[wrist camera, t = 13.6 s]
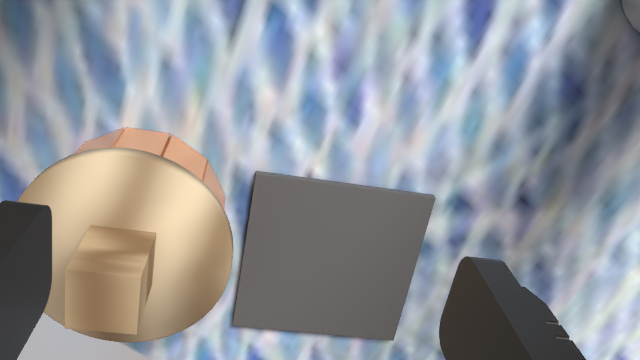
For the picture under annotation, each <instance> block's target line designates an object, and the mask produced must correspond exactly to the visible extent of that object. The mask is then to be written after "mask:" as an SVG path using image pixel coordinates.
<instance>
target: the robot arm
mask: <svg viewBox="0 0 640 360" xmlns="http://www.w3.org/2000/svg"><path fill="white" fill-rule="evenodd" d="M621 2H622V7H623V10H624V12H625V15H626V18H627V19H628V21H629V22H630V24H631V25H632V27H633V28H634V29H636V30H637V31H638V32H639V33H640V0H621ZM51 284H52V212H51V209H50V207H49V206H48V205H41V204H32V203H24V202H16V201H7V200H5V201H2V202H1V203H0V360H17V358H18V356H19V354H20V353H21V351H22V349H23V347H24V345H25V344H26V342H27V340H28V338H29V336H30V335H31V333H32V331H33V329H34V328H35V326H36V324H37V322H38V321H39V319H40V317H41V315H42V313H43V312H44V310H45V307H46V305H47V302H48V299H49V295H50V290H51ZM439 338H440V345H441V349H442V351H443V354H444V356H445V359H446V360H586V359H585V358H584V356H583V355H582V353H581V352H580V351H579V349H578V348H577V347H576V345H575V344H574V342H573V341H572V340H569V335H568V334H567V333H566V331H565V330H564V329H563V327H562V326H561V325H558V320H557V319H556V317H555V316H554V315H553V313H552V312H551V310H550V309H549V308H548V306H547V305H546V304H545V303H544V302H543V301H542V300H540V299H539V298H538V297H537V296H535V295H534V294H533V293H532V292H530V291H529V290H528V289H527V288H525V287H521V286H520V284H519V283H518V281H517V280H516V279H515V277H514V276H513V274H512V273H511V271H510V270H509V268H508V267H507V266H506V264H505V263H504V262H503V261H500V260H493V259H485V258H476V257H468V256H467V257H464V258H463V259H462V260H461V262H460V263H459V266H458V268H457V271H456V274H455V277H454V280H453V283H452V286H451V289H450V292H449V295H448V299H447V302H446V305H445V308H444V311H443V314H442V317H441V321H440V328H439Z"/></svg>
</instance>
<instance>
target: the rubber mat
mask: <svg viewBox="0 0 640 360" xmlns="http://www.w3.org/2000/svg"><path fill="white" fill-rule="evenodd" d="M434 202H435V197H434V195H430V194H422V193H415V192H408V191H400V190H393V189H386V188H378V187H371V186H363V185H356V184H349V183H341V182H334V181H326V180H319V179H312V178H304V177H297V176H290V175H282V174H275V173H267V172H260V171H256V175H255V182H254V188H253V194H252V201H251V207H250V214H249V220H248V227H247V233H246V240H245V246H244V253H243V259H242V266H241V272H240V279H239V285H238V292H237V298H236V305H235V311H234V318H233V326H243V327H254V328H265V329H275V330H286V331H297V332H307V333H318V334H329V335H339V336H350V337H361V338H371V339H382V340H394V336H395V333H396V330H397V326H398V323H399V320H400V316H401V313H402V310H403V306H404V303H405V299H406V296H407V293H408V289H409V286H410V283H411V279H412V276H413V272H414V269H415V266H416V262H417V259H418V256H419V252H420V249H421V245H422V242H423V239H424V235H425V232H426V229H427V225H428V222H429V218H430V215H431V212H432V208H433V205H434Z"/></svg>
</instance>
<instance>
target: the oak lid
mask: <svg viewBox="0 0 640 360" xmlns="http://www.w3.org/2000/svg"><path fill="white" fill-rule="evenodd" d="M17 202H24V203H32V204H41V205H48V206H49V207H50V209H51V212H52V284H51V290H50V295H49V299H48V302H47V305H46V307H45V310H44V313H45V314H47V315H48V316H49V317H51V318H52V319H54V320H55V321H57V322H59V323H60V324H62V325H63V326H65V328H68V329H72V330H74V331H76V332H79V333H81V334H84V335H88V336H90V337H94V338H98V339H102V340H109V341H116V342H142V341H150V340H156V339H160V338H163V337H167V336H170V335H173V334H175V333H178V332H180V331H182V330H184V329H186V328H188V327H190V326H192V325H193V324H195V323H196V322H197V321H199V320H200V319H201V318H203V317H204V316H205V315H206V314H207V313H208V312H209V311H210V310H211V309H212V308H213V307H214V305H215V304H216V303H217V302H218V300H219V299H220V297H221V295H222V294H223V292H224V290H225V288H226V285H227V283H228V280H229V277H230V272H231V268H232V258H233V237H232V231H231V227H230V223H229V220H228V218H227V215H226V213H225V211H224V209H223V207H222V205H221V204H220V202H219V200H218V199H217V197H216V196H215V195H214V194H213V192H212V191H211V190H210V189H209V188H208V187H207V186H206V185H205V184H204V183H203V182H202V181H201V180H200V179H199V178H198V177H197V176H195V175H194V174H193V173H192V172H190V171H189V170H188V169H186V168H184V167H183V166H181V165H179V164H178V163H176V162H174V161H171V160H169V159H167V158H165V157H163V156H160V155H157V154H153V153H150V152H147V151H142V150H137V149H131V148H118V147H114V148H98V149H92V150H86V151H83V152H80V153H76V154H73V155H70V156H68V157H66V158H64V159H62V160H59V161H58V162H56V163H55V164H53V165H51V166H50V167H48V168H47V169H46V170H44V171H43V172H42V173H41V174H40V175H39V176H37V178H36V179H35V180H34V181H33V182H32V183H31V184H30V186H29V187H28V188H27V189H26V190H25V191H24V193H23V194H22V195H21V196H20V198H19V200H18V201H17Z"/></svg>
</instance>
